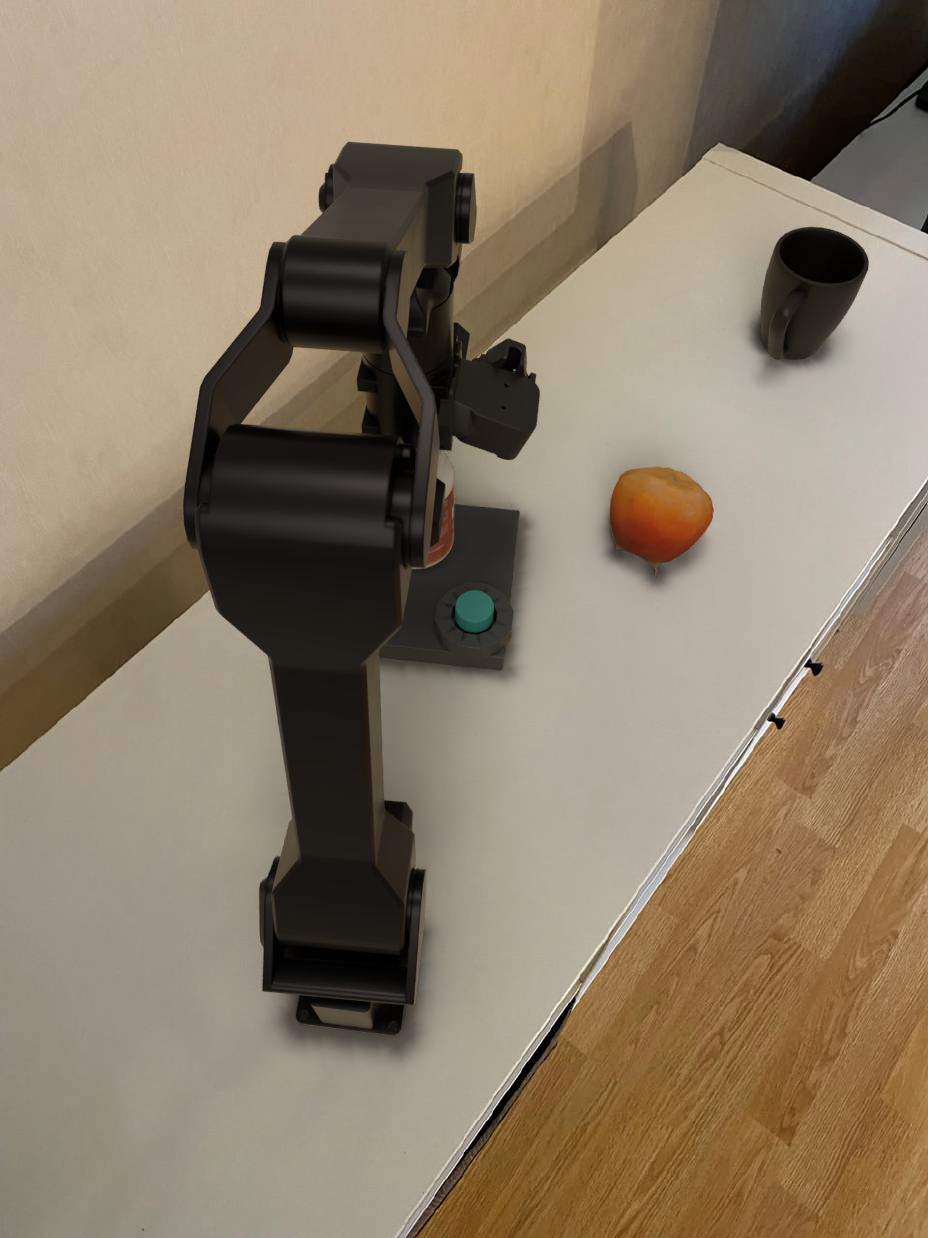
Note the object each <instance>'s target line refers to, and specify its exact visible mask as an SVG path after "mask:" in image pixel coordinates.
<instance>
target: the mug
mask: <svg viewBox="0 0 928 1238" xmlns="http://www.w3.org/2000/svg"><path fill="white" fill-rule="evenodd" d="M869 265H870V260H869V256H868V253H867V252H866V251H865V249H864V248H863V246H862V245H861V244H860V243H859V242H858V241H856V240H855V239H853V238H852V237H850V236H849V235H847V234H845V233H843V232H840V231H837V230H834V229H831V228H827V227H821V226H805V227H799V228H798V227H797V228H795V229H792V230H790V231H788V232H786V233H784V234H783V235H782V236H781V237H779V238H778V240H777V242H776V243H775V245H774V247H773V250H772V254H771V257H770V259H769V263H768V265H767V269H766V271H765V276H764V281H763V286H762V292H761V300H760V334H759V335H760V340H761V343H762V345H763V346H764V347H765V349H766V350H767V351H768V354H769V355H770V357H771V358H773V359H774V360H779V361H780V360H783V359H786V360H795V361H797V360H803V359H807V358H809V357H811V356H813V355H814V354H815V353H816V352H817V351H818V349H819V348H820V347H821V346H822V345H823V344H824V343H825V342H826V341H827V339H828V338H829V337H830V336H831V335H832V334H833V333H834V331H836V329H838V326H839V325H840V324H841V323H842V321H843V320H844V319H845V317H846V315H848V312H849V311H850V309H851V307H852V306H853V304H854V302H855V300H856V298H857V296H858V293H859V292H860V289H861V288H862V285H863V283H864V280H865V278H866V276H867V274H868V271H869V267H870V266H869Z"/></svg>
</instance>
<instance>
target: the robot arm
mask: <svg viewBox="0 0 928 1238" xmlns="http://www.w3.org/2000/svg"><path fill="white" fill-rule="evenodd" d="M463 158H464V157H463V153H462V152H461V151H460V150H459V149H458V148H447V147H446V148H444V147H431V146H430V147H429V146H417V145H416V146H415V145H404V144H403V145H401V144H400V145H399V144H388V143H387V144H385V143H373V142H357V141H347V142H346V143H345V144H344V145H343V147H341V150H340V151H339V154H338V156H337V158H336V159H335V161H334V163H330V164H329V167H328V170H327V172H325V173H324V182H323V183H322V184H321V185H320V187H319V189H318V208H319V209H318V210H319V211H320V212H321V214H320V215H319V216H318V217H317V218H316V219H315V220H314V221H313V222H312V223H311V224H310V225H308V227H307V228H306V229H305V230H304V231H303V232H302V233H301V234H293V235H291V236H290V237H289V238H288V239H287V240H286V241H273V242H272V244H271V245H270V247H269V249H268V254H267V257H266V259H267V260H266V264H265V270H264V276H263V284H262V291H261V298H260V305H259V308H258V310H257V311H256V312H255V314H254V315H253V316H252V317H251V318H250V320H249V321H248V322H247V323H246V325H245V326H244V327H243V329H242V330H241V331H240V332H239V334H238V335H237V336H236V337H235V338H234V340H233V341H232V342H231V343H230V345H229V346H228V347H227V348H226V350H225V351H224V352H223V353H222V354H221V356H220V357H219V358H218V359H217V360H216V362H215V363H214V365H213V366H212V367H211V368H210V369H209V370H208V372H207V373H206V375H204V377H203V379H202V381H201V383H200V386H199V390H198V397H197V403H196V408H195V416H194V422H193V429H192V435H191V440H190V441H191V442H190V448H189V455H188V462H187V468H186V474H185V480H184V491H183V499H182V501H183V502H182V512H183V526H184V531H185V532H184V533H185V536H186V540H187V542H188V544H189V545H190V548H191V549H192V550H195V551H197V552H198V556H199V560H200V563H201V567H202V569H203V574H204V576H205V581H206V582H207V586H208V589H209V593H210V595H211V599H212V602H213V605H214V609H215V610H216V612H217V613H218V614H219V615H220V616H221V617H222V618H223V619H224V620H225V621H227V622H228V623H229V624H230V625H231V626H233V627H234V628H235V629H236V630H237V631H238V632H240V634H242V635H243V636H244V637H245V638H246V639H248V640H249V641H250V642H251V643H252V644H253V645H255V646H256V647H257V648H258V649H259V650H260V651H262V652H263V653H264V654H265V655H266V656H267V657H266V658H267V661H268V665H269V666H268V667H269V671H270V672H269V673H270V679H271V684H272V692H273V698H274V699H273V700H274V706H275V712H276V720H277V725H278V732H279V733H278V734H279V737H280V738H279V739H280V745H281V752H282V758H283V759H282V760H283V765H284V772H285V779H286V786H287V791H288V799H289V805H290V812H291V820H289V822H288V825H287V829H286V832H285V837H284V840H283V845H282V849H281V851H280V852H281V853H280V855H276V856H274V859H273V860H272V862H271V865H270V869H269V871H268V874H267V876H266V877H264V878H263V879H262V880H261V881H260V883H259V887H258V918H259V919H258V923H259V924H258V925H259V926H258V927H259V929H258V930H259V940H260V945H261V946H262V948H263V949H262V950H263V951H262V952H263V955H262V956H263V958H262V980H261V981H262V984H261V990H262V992H264V993H273V994H284V995H295V996H298V1001H297V1006H296V1011H295V1019H296V1021H297V1023H299V1025H303V1026H308V1027H317V1028H324V1029H325V1028H326V1029H333V1030H338V1031H339V1030H342V1031H346V1032H347V1031H348V1032H356V1033H362V1034H363V1033H364V1034H371V1035H377V1036H386V1037H387V1036H388V1037H397V1036H398V1035H399V1034H400V1033H401V1032H402V1028H403V1023H404V1022H403V1021H404V1016H405V1015H404V1014H405V1007H406V1006H410V1007H411V1006H412V1007H414V1006H415V1004H416V1002H417V997H418V994H417V993H418V987H419V986H418V985H419V977H420V968H421V957H422V949H423V939H424V930H425V920H426V899H427V898H426V897H427V896H426V894H427V869H426V868H420V867H419V868H417V867H416V865H417V863H416V861H417V858H416V857H417V854H416V835H415V832H414V827H413V826H414V812H413V810H412V808H411V807H410V805H409V804H408V803H407V802H406V801H400V800H387V799H385V783H384V782H385V781H384V778H385V777H384V755H383V754H384V753H383V752H384V750H383V723H382V722H383V720H382V699H381V698H382V693H381V663H380V662H381V661H380V657H379V649H380V648H381V647H382V646H383V645H384V644H385V643H386V642H387V641H388V640H389V639H390V638H391V637H392V636H393V635H394V634H395V633H396V632H397V631H398V630H399V629H400V628H401V626H402V622H403V616H404V611H405V605H406V600H407V594H408V588H409V583H410V577H411V572H412V568H424V569H426V565H427V562H428V555H429V549H430V547H432V546H434V545H435V544H437V543H439V540H440V534H441V527H442V521H443V515H444V507H445V495H446V484H445V483H444V482H442V481H441V480H440V479H438V478H437V469H438V459H439V450H444V451H447V452H452V451H453V445H454V437H455V438H456V439H457V440H458V441H459V442H461V443H462V444H465V445H467V446H471V447H473V448H477V449H479V450H482V451H485V452H488V453H490V454H493V455H495V456H496V457H497V458H499V459H500V460H504V461H512V460H515V459H516V458H517V457H518V456H519V454H520V453H521V451H522V449H523V448H524V447H525V445H526V444H527V442H528V441H529V439H530V437H531V436H532V435H533V433H534V431H535V430H536V429H537V426H538V419H539V418H538V417H539V409H540V408H539V406H540V397H541V390H540V387H539V386H538V385H537V383H536V381H537V373H535V372H533V371H531V372H530V373H529V374H528V370H527V369H528V367H527V366H528V357H527V345H526V344H525V343H522V342H520V341H517V340H515V339H512V338H509V337H508V338H505V339H504V340H502V341H501V342H499V343H497V344H495V345H494V346H492V347H490V348H489V349H488V350H487V351H486V353H480V355H479V357H474V358H473V359H472V360H469V359H470V354H471V353H470V352H471V351H470V350H471V333H470V332H469V331H468V330H467V329H466V328H465V327H463V326H462V325H461V324H460V323H459V322H455V321H454V314H455V313H454V311H455V310H454V303H455V300H454V299H455V290H454V289H455V281H456V279H458V276H459V273H460V272H459V271H460V266H461V260H462V251H463V245H471V244H472V243H473V242H474V241H475V233H476V225H477V217H478V216H477V214H478V207H477V193H476V178H475V173H474V172H461V171H462V169H463V163H464V159H463ZM294 348H299V349H310V350H311V349H313V350H326V351H337V352H339V351H340V352H354V353H361V360H360V364H359V366H358V367H359V368H358V371H357V376H356V387H357V388H356V389H357V392H360V393H361V392H362V393H365V399H366V400H365V401H366V406H365V409H364V413H363V417H362V421H361V426H360V427H361V432H354V431H353V432H352V431H339V430H338V431H337V430H328V429H327V430H325V429H315V428H314V429H313V428H312V429H311V428H301V427H300V428H298V427H289V426H288V427H286V426H273V425H260V424H259V425H258V424H247V423H243V422H244V421H245V419H246V418H247V417H248V415H249V414H250V413H251V412H252V411H253V410H254V408H255V406H256V405H257V404H258V403H259V402H260V400H261V399H262V398H263V397H264V396H265V394H266V393H267V391H268V390H269V389H270V387H271V386H272V385H273V384H274V382H275V381H276V380H277V379H278V378H279V376H280V375H281V373H283V371H284V370H285V369H286V368H287V366H288V365H289V364H290V361H291V359H292V357H293V355H294ZM416 449H417V450H416ZM303 1013H307V1017H306V1018H304V1019H303V1018H302V1017H301V1016H302V1014H303ZM393 1024H394V1025H395V1024H396V1026H397V1027H396V1029H395V1030H391V1028H390V1026H391V1025H393Z"/></svg>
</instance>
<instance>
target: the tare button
mask: <svg viewBox="0 0 928 1238" xmlns="http://www.w3.org/2000/svg"><path fill="white" fill-rule="evenodd" d="M493 612H494V604H493V601H492V599H491V598H490V596H488V595H487V594H486V593H484V592H482V591H478V590H471V591H467V592H465V593H463V594H462V595H460V596H459V598H458V599H457V601H456V605H455V619H456V622H457V624H458V625H459V627H460V628H462V629H463V630H465V631H467V632H471V633H478V632H482V631H484V630H486V629H487V628H488V627H489V626H490V625H491V623H492V621H493Z"/></svg>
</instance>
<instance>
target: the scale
mask: <svg viewBox="0 0 928 1238" xmlns="http://www.w3.org/2000/svg"><path fill="white" fill-rule="evenodd" d="M520 513H521V512H520V510H518V509H507V508H497V507H488V506H478V505H468V504H459V503H454V541H453V545H452V548H451V550H450V552H449V553H448V554H447V556H446V557H445V558H444V559H443V560H441V561H440V562H439V563H437V564H435V565H433V566H431V567H428V568H426V569H412V572H411V577H410V583H409V588H408V594H407V600H406V605H405V611H404V616H403V622H402V626H401V628H400V629H399V630H398V631H397V632H396V633H395V634H394V635H393V636H392V637H391V638H390V639H389V640H388V641H387V642H386V643H385V644H384V645H383V646H382V647H381V648H380V649H379V658H384V659H385V658H386V659H395V660H405V661H412V662H422V663H432V664H441V665H450V666H458V667H469V668H477V669H487V670H495V671H503V669H504V659H505V652H506V651H505V649H506V645H507V643H508V642H509V641H510V640H511V638H512V631H513V621H514V612H515V611H514V609H513V607H512V605H511V595H512V586H513V577H514V569H515V568H514V567H515V557H516V549H517V548H516V547H517V540H518V530H519V522H520V521H519V520H520ZM471 590H478V591H482V592H484V593H486V594H487V595H488V596H490V598H491V599H492V601H493V604H494V612H493V621H492V623H491V625H490V626H489V627H488V628H487V629H486V630H484V631H482V632H478V633H471V632H467V631H465V630H463V629H462V628H460V627H459V625H458V624H457V622H456V619H455V605H456V601H457V599H458V598H459V596H460V595H462V594H463V593H465V592H467V591H471Z"/></svg>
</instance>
